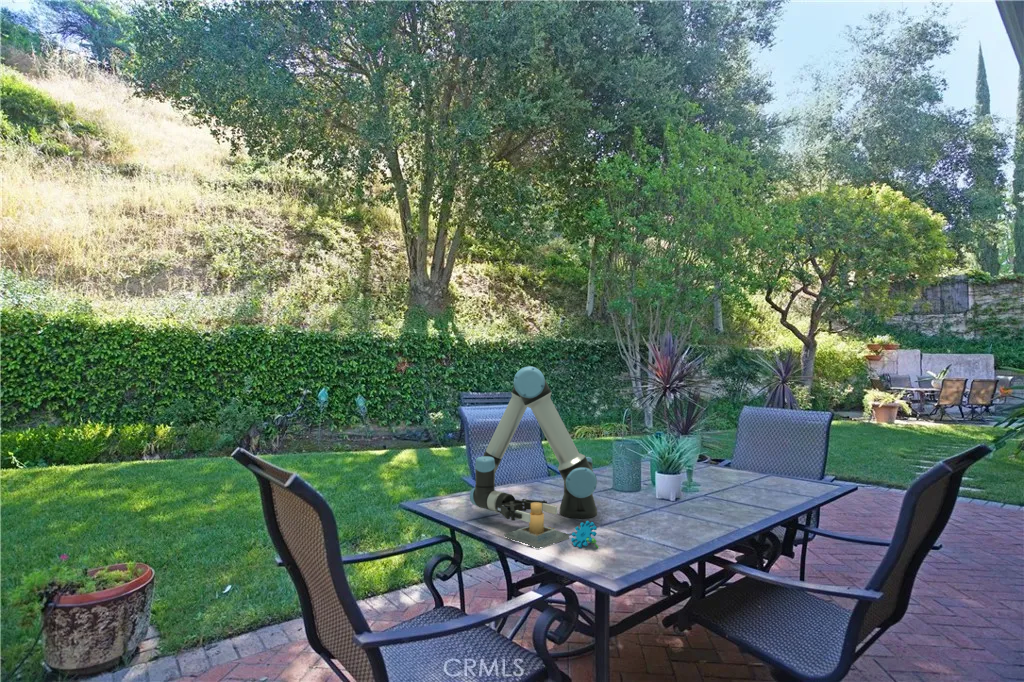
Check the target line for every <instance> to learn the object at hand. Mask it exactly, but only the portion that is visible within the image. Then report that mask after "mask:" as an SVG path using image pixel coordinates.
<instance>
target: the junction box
mask: <svg viewBox="0 0 1024 682" xmlns="http://www.w3.org/2000/svg"><path fill="white" fill-rule="evenodd" d="M504 536H505V537H507V538H509V539H512V540H515V541H519V542H522V543H525V544H528V545H530V546H533V547H535V548H540V547H543V546H546V547H548V546H547V545H549V546H551V545H550V544H552V545H554V544H553V543H555V544H557V542H558V543H560V541H561V542H563V540H564V541H566V540H569V539H570V534H568V533H566V532H563V531H559V530H557V529H555V527H551V526H545V525H544V533H540V534H534V533H530V532H529V525H528V526H524V527H521V528H517V529H516V530H512V531H509V532H505V533H504ZM504 536H503V537H504ZM543 548H544V547H543ZM540 549H541V548H540Z"/></svg>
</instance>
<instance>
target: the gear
mask: <svg viewBox="0 0 1024 682" xmlns="http://www.w3.org/2000/svg"><path fill="white" fill-rule="evenodd" d="M579 526H580V527H579ZM579 526H576V527H574V530H575V531H576V532H575V531H573V532H572V533H571V536H572V538H571V539H570V542H571V543H572V544H573V546H574V547H575V548H576V547H578V548H579V549H582V548H583V546H584V547H587V546H588V545H589V544H590V545H592V546H595V548H596V549H599V547H600V546H599V545H598V544H597V540H596V539H595V537H596V536H597V532H596V531H597V529H598V528H597V527H598V526H597V525H595V523H594V522H593V521H591V522H590V521H589V520H586V521H585V522H582V521H581V522H580V524H579ZM592 536H593V537H592Z"/></svg>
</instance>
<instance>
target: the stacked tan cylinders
mask: <svg viewBox="0 0 1024 682" xmlns="http://www.w3.org/2000/svg"><path fill="white" fill-rule="evenodd" d="M528 513H529V514H530V522H528V526H529V532H530V533H534V534H540V533H544V526H545V514H544V513H545V512H543V511H542V503H540V502H533V503H531V510H530V512H528Z"/></svg>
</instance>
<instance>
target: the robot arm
mask: <svg viewBox="0 0 1024 682" xmlns="http://www.w3.org/2000/svg"><path fill="white" fill-rule="evenodd" d="M551 397H552V390H551V389H550V387H549V385H548V382H547V381H546V379H545V376H544V374H543V372H542V371H541V370H540V369H538V368H537V367H535V366H530V365H529V366H524V367H521V368H520V369H519V370H518V371H517V372H516V373H515V375H514V378H513V388H512V391H511V397H510V400H509V402H508V404H507V406H506V408H505V410H504V412H503V414H502V416H501V418H500V421H499V423H498V425H497V427H495V428H496V429H495V431H494V433H493V435H492V436H491V439H490V441H489V443H488V445H487V447H486V449H485V451H484V453H483V455H482V456H479V457H476V459H475V465H474V469H475V474H474V475H475V486H474V487H473V488H472V489H471V490H470V494H469V501H470V503H471V504H472V505H474V506H476V507H478V508H479V509H484V510H489V511H492V512H495V514H501V515H502V516H503V517H504V518H505V519H507V520H511V521H512V522H513V521H515V520H519V521H523V522H526V523H529V522H530V514H529V513H530V512H526V511H527V510H529V511H531V503H533V502H540V503H542V512H543V513H549V514H552V515H556V516H557V515H558V506H556V505H553V504H550V503H549V504H548V501H547V500H537V499H535V500H534V499H526V498H523V499H522V500H520V499H516V498H515V496H514V495H513V494H510V493H507V492H503V491H500V490H495V489H496V487H495V485H496V484H495V481H496V478H495V477H496V472H497V470H498V469H499V466H500V463H501V461H502V460H503V457H504V456H505V453H506V451H507V449H508V447H509V445H510V443H511V441H512V439H513V437H514V435H515V433H516V432H517V431H516V430H517V429H518V427H519V425H520V423H521V421H522V419H523V417H524V414H525V412H526V410H527V409H528V408H529V409H530V410H531V412H532V413H533V415H534V418H535V420H536V421H537V423H538V425H539V427H540V428H541V431H542V432H543V435H544V436H545V438H546V440H547V442H548V444H549V446H550V448H551V450H552V453H553V454H554V455H555V458H556V460H557V461H558V463H559V464H558V467H557V470H558V472H559V474H560V476H561V478H562V480H563V496H562V498H561V499H562V500H561V501H560V502H561V504H560V506H559V514H560V515H561V514H562V515H561V516H563V515H564V517H566V516H567V517H568V518H572V519H588V518H593V517H595V516H597V515H598V507H597V506H596V502H595V498H594V492H595V491H596V489H597V485H598V477H597V475H596V474H595V472H594V470H593V465H594V462H593V458H592V457H590V456H586V455H585V454H582V453H580V452H579V450H578V448H577V447H576V445H575V443H574V440H573V439H572V436H571V435H570V433H569V431H568V429H567V427H566V425H565V423H564V421H563V419H562V418H561V416H560V414H559V412H558V410H557V408H556V406H555V404H554V402H553V400H552V399H551ZM567 517H566V518H567Z"/></svg>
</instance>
